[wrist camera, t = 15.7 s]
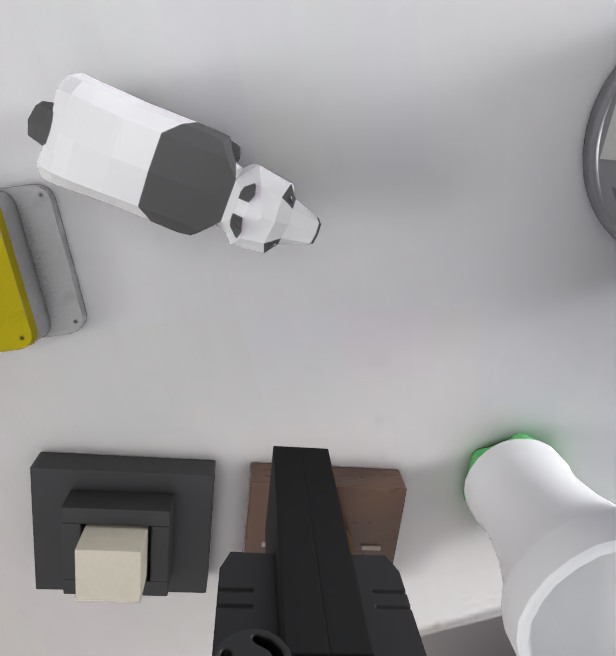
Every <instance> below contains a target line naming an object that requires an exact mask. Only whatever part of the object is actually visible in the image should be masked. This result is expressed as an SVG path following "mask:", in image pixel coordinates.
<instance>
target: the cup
mask: <svg viewBox="0 0 616 656" xmlns="http://www.w3.org/2000/svg"><path fill="white" fill-rule="evenodd" d="M463 495H464V499H465V501H466V503H467V505H468V507H469V509H470V510H471V512H472V514H473V516H474V517H475V519H476V521H477V522H478V524H479V526H480V527H481V528H482V529H483V530H484V531H485V532H486V533H487V534H488V536H489V538H490V540H491V542H492V544H493V547H494V549H495V552H496V555H497V557H498V560H499V564H500V569H501V574H502V581H503V589H502V600H501V612H502V617H503V622H504V628H505V632H506V634H507V636H508V638H509V640H510V642H511V644H512V646H513V648H514V651H515V653H516V655H517V656H616V505H615V504H614V503H612V502H610V501H608V500H606V499H604V498H602V497H601V496H599V495H597V494H596V493H595V492H593V491H592V490H591V489H590V488H588V487H587V486H586V485H584V484H583V483H582V482H581V481H580V480H578V479H577V478H576V477H575V476H574V475H573V473H572V471H571V469H570V467H569V465H568V464H567V463H566V462H565V461H564V460H563V459H562V458H561V456H560V455H559V454H558V453H557V452H556V451H555V450H554V449H553V448H552V447H551V446H549V445H547V444H545V443H543V442H541V441H538V440H536V439H534V438H532V437H530V436H527V435H525V434H519V433H517V434H515V435H514V436H512V437H511V438H510V439H508V440H506V441H504V442H500V443H499V444H497V445H494V446H491V447H488V448H482V449H478V450H476V451H475V452H474V453H473V454H472V460H471V464H470V467H469V471H468V475H467V477H466V480H465V487H464V490H463Z"/></svg>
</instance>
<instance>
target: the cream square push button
mask: <svg viewBox="0 0 616 656" xmlns="http://www.w3.org/2000/svg"><path fill="white" fill-rule="evenodd" d="M147 562H148V526H133V525H105V524H86V526H85V528H84V530H83V533H82V535H81V537H80V539H79V542H78V544H77V546H76V549H75V583H76V601H77V602H126V603H140V601H141V597H142V593H143V589H144V585H145V581H146V577H147Z"/></svg>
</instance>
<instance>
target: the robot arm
mask: <svg viewBox="0 0 616 656" xmlns="http://www.w3.org/2000/svg"><path fill="white" fill-rule="evenodd" d="M583 170H584V180H585V186H586V190H587V194H588V197H589V200H590V203H591V205H592V208H593V210H594V212H595V214H596V216H597V217H598V219H599V220H600V222H601V223H602V225H603V226H604V228H605V229H606V230H607V231H608V232H609V233H610V234H611V235H612V236H613V237H614V238H615V239H616V68H615V69H614V71H613V72H612V73H611V75H610V76H609V78H608V80H607V81H606V83H605V85H604V86H603V88H602V90H601V92H600V94H599V96H598V98H597V100H596V103H595V105H594V108H593V111H592V113H591V116H590V120H589V123H588V126H587V131H586V136H585V142H584V151H583ZM212 656H426V653H425V649H424V646H423V644H422V640H421V637H420V634H419V631H418V628H417V625H416V622H415V619H414V616H413V613H412V610H410V604H409V600H408V597H407V594H405V588H404V585H403V582H402V579H401V576H400V573H399V571H398V570H397V569H396V568H395V566H394V565H393V564H392V563H391V562H390V561H389V559H388V558H387V557H386V556H385V555H360V554H352V553H351V549H350V544H349V540H348V536H347V531H346V527H345V522H344V518H343V513H342V509H341V505H340V500H339V496H338V491H337V487H336V483H335V478H334V474H333V469H332V465H331V461H330V456H329V452H328V449H319V448H300V447H281V446H274V447H273V457H272V466H271V476H270V486H269V496H268V506H267V516H266V525H265V553H247V552H230V554H229V555H228V557H227V558H226V560H225V561H224V563H223V564H222V566H221V567H220V571H219V583H218V594H217V606H216V617H215V629H214V640H213V652H212Z"/></svg>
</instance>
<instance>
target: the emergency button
mask: <svg viewBox="0 0 616 656" xmlns="http://www.w3.org/2000/svg"><path fill="white" fill-rule="evenodd" d="M85 322H86V311H85V307H84V303H83V300H82V296H81V292H80V288H79V285H78V281H77V277H76V274H75V270H74V266H73V262H72V259H71V255H70V251H69V247H68V244H67V240H66V236H65V232H64V229H63V225H62V221H61V218H60V214H59V210H58V206H57V203H56V199H55V197H54V195H53V193H52V192H51V190H50V189H48V188H46V187H44V186H43V185H35V184H30V185H22V186H15V187H8V188H0V352H5V351H11V350H18V349H23V348H25V347H27V346H29V345H31V344H33V343H35V341H37V340H38V339H40V338H44V337H50V336H57V335H64V334H70V333H73V332H75V331H78V330H79V329H80V328H81V327H82V326H83V324H84V323H85Z"/></svg>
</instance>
